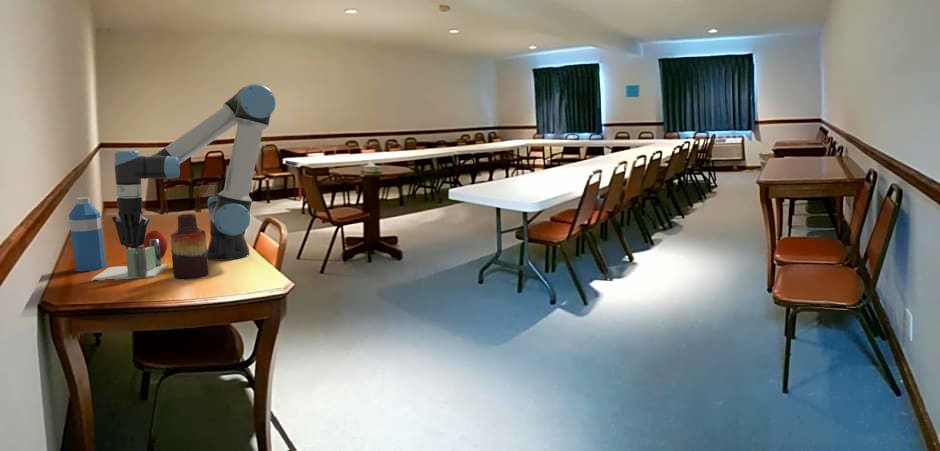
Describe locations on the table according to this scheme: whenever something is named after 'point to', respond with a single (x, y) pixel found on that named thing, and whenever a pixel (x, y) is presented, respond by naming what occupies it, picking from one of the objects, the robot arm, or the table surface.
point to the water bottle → (86, 236)
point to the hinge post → (156, 250)
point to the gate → (133, 261)
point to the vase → (189, 249)
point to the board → (125, 273)
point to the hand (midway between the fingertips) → (133, 265)
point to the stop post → (141, 261)
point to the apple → (161, 241)
